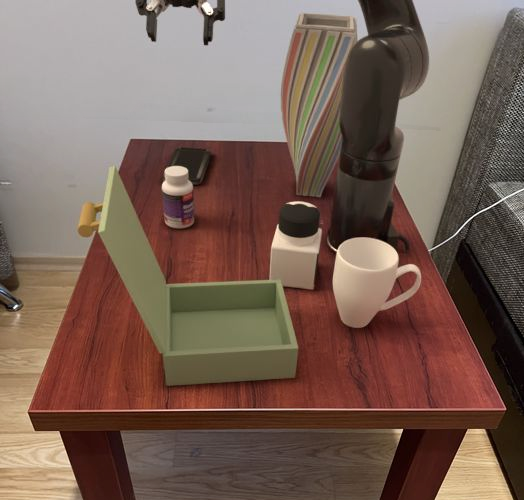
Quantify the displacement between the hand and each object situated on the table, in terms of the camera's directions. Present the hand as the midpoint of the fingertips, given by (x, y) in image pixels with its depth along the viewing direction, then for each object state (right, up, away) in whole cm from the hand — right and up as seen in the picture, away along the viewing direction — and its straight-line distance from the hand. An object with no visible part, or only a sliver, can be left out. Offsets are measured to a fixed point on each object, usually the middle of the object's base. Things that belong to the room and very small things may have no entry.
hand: (179, 40), depth 88 cm
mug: (+29, -46, -8) cm, 55 cm away
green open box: (+9, -49, -13) cm, 52 cm away
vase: (+23, -18, +22) cm, 36 cm away
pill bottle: (-2, -27, +11) cm, 29 cm away
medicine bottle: (+18, -38, 0) cm, 42 cm away
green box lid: (-1, -39, -24) cm, 46 cm away
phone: (-2, -12, +27) cm, 29 cm away
